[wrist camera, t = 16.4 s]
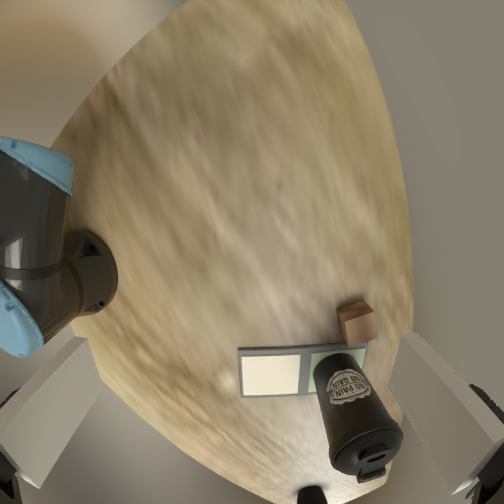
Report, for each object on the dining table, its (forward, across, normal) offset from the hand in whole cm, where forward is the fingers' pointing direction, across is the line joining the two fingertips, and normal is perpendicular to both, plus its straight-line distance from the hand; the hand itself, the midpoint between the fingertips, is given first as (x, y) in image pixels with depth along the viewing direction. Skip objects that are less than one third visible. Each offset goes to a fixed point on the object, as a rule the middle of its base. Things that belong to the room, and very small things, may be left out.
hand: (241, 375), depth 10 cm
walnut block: (+33, +17, -14) cm, 40 cm away
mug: (+33, +16, -76) cm, 84 cm away
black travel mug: (+32, +15, -24) cm, 43 cm away
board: (+33, +9, -24) cm, 42 cm away
